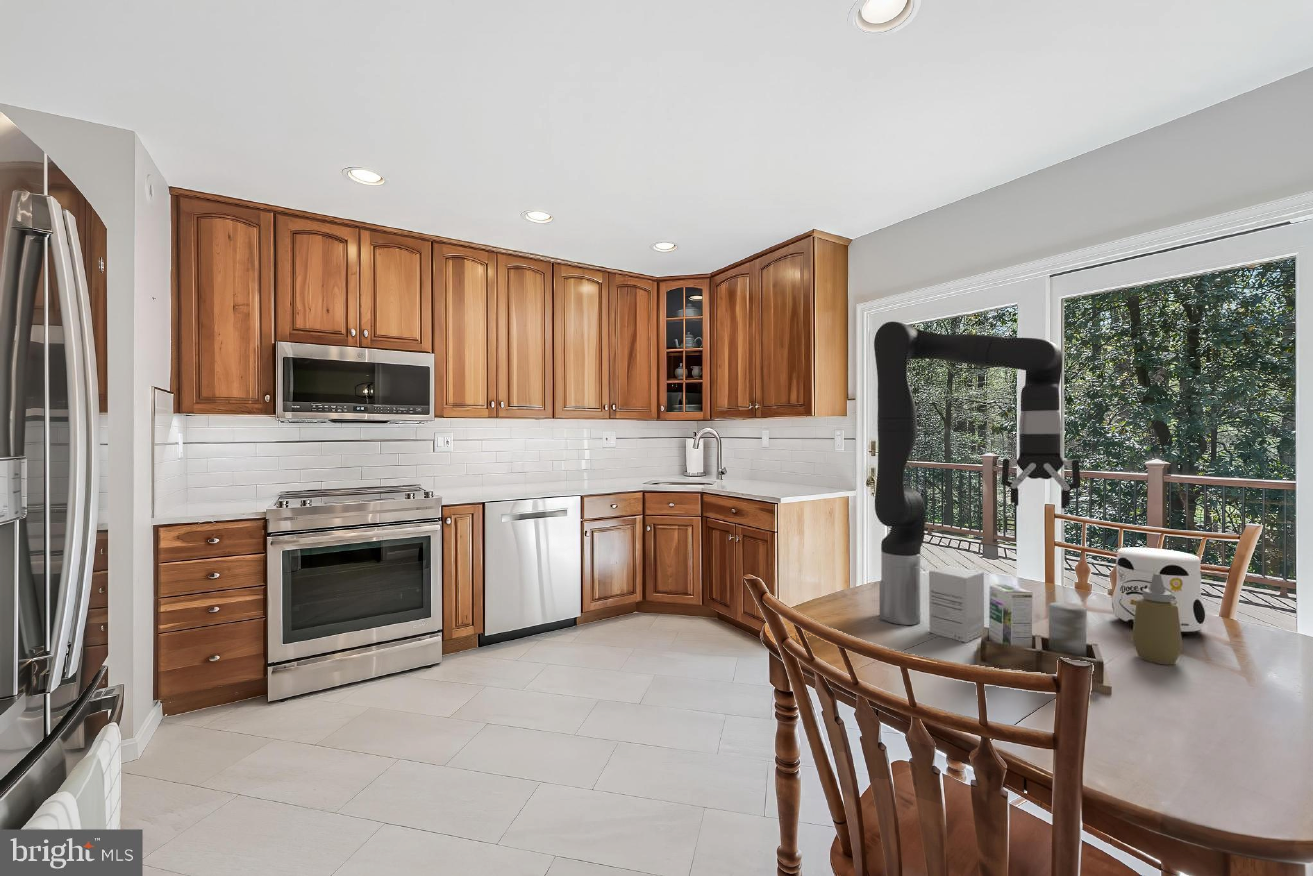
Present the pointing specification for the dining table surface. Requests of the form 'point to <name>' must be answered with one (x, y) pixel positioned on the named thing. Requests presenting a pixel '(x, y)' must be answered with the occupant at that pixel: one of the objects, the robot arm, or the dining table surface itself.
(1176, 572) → the milk container
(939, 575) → the supplement box
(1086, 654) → the walnut caddy
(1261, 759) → the dining table surface
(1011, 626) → the syrup box
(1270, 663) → the dining table surface
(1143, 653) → the squeeze bottle
